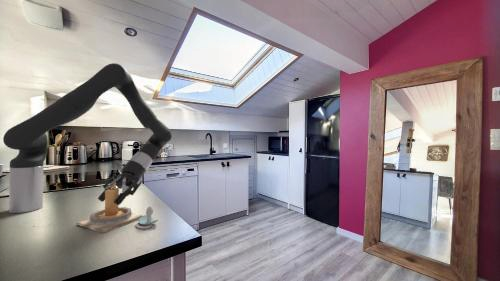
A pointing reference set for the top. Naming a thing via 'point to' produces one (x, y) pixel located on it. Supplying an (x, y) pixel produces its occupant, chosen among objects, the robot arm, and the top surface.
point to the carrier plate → (109, 227)
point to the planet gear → (111, 204)
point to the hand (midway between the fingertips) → (107, 202)
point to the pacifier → (146, 219)
